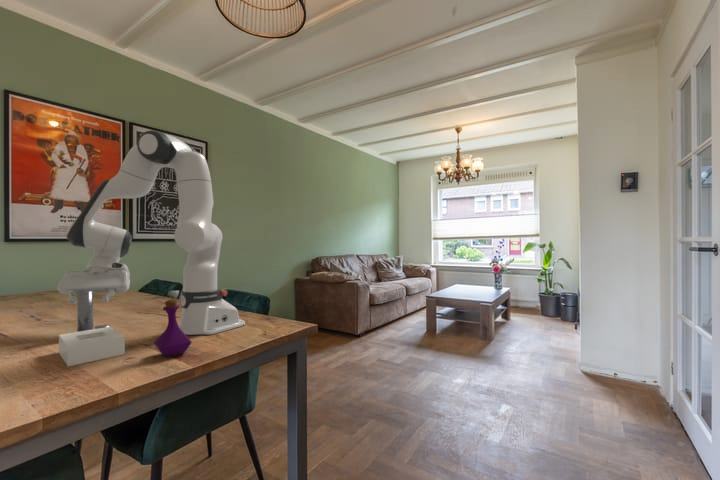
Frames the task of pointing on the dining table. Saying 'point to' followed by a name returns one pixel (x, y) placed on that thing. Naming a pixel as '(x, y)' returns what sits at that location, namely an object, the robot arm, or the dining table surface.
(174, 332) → the perfume bottle
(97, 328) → the short pin
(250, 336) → the dining table surface
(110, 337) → the guide block
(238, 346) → the dining table surface
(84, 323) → the tall pin
